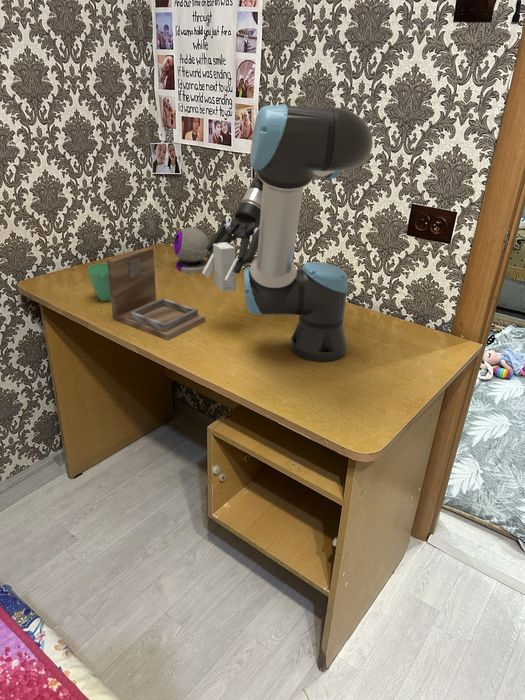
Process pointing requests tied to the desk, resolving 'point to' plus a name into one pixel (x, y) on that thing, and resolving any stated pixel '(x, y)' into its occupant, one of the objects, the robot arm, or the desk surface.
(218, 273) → the skincare box
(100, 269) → the mug
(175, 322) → the brown l-shaped piece
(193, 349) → the desk surface
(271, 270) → the robot arm
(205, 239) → the webcam
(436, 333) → the desk surface
